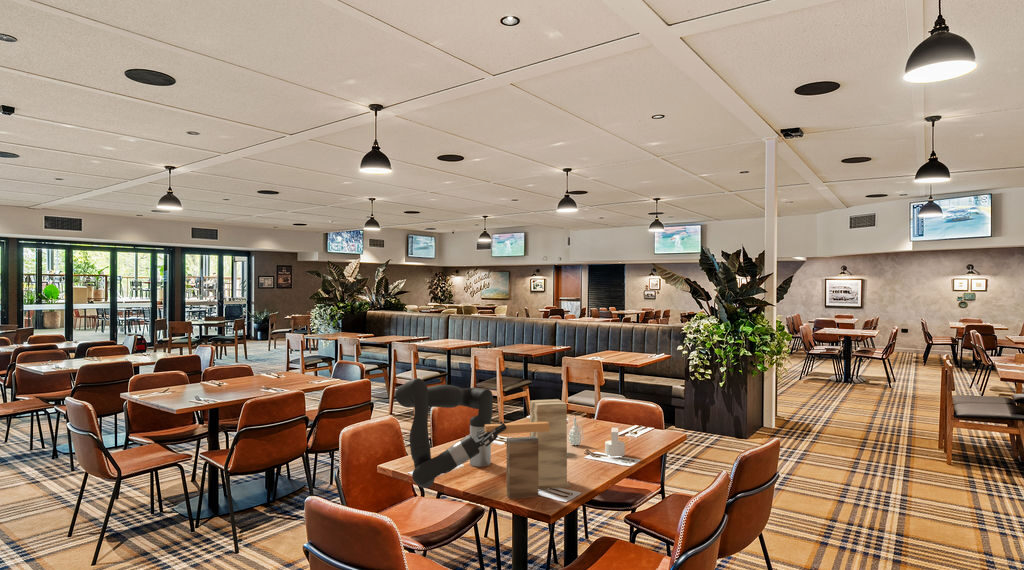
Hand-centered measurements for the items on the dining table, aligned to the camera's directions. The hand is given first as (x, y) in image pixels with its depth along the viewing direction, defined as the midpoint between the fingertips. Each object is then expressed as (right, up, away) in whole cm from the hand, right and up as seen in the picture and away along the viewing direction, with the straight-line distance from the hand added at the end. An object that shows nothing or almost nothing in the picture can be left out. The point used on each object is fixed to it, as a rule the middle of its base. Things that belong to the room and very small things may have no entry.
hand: (504, 424), depth 205 cm
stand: (+17, -27, +15) cm, 35 cm away
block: (+7, -27, +1) cm, 27 cm away
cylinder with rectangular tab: (+51, -28, +53) cm, 79 cm away
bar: (+5, -3, +1) cm, 6 cm away
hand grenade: (+35, -28, +71) cm, 84 cm away
